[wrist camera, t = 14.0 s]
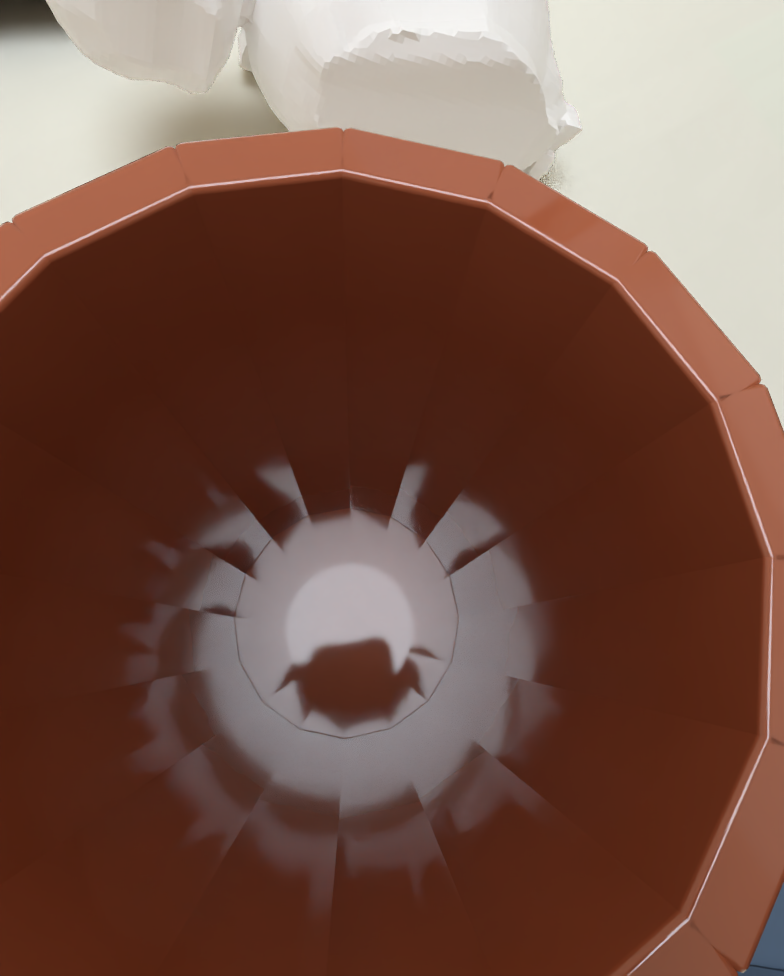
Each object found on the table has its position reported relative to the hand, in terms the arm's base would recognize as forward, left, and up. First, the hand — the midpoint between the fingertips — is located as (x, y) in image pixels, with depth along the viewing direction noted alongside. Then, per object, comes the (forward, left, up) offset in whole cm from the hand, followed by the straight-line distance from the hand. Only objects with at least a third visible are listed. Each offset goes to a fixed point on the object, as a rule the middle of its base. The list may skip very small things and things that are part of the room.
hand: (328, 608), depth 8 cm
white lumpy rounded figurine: (+16, +3, -9) cm, 19 cm away
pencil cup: (0, 0, -9) cm, 9 cm away
